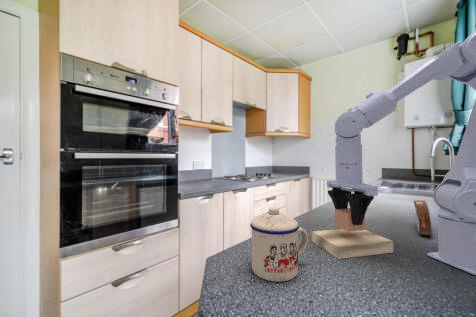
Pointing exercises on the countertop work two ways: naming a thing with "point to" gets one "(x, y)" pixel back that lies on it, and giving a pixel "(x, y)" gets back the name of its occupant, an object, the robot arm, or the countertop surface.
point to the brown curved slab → (423, 218)
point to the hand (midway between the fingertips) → (349, 221)
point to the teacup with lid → (276, 246)
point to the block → (346, 220)
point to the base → (351, 243)
